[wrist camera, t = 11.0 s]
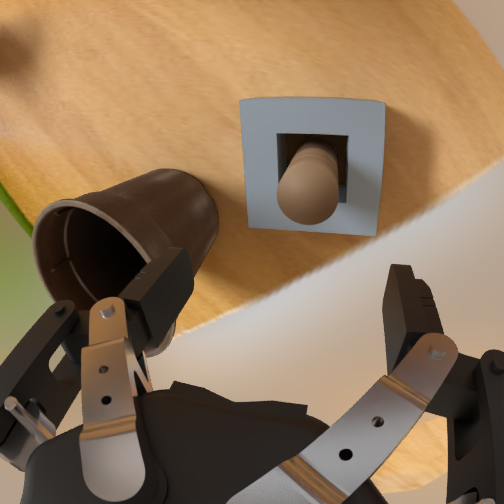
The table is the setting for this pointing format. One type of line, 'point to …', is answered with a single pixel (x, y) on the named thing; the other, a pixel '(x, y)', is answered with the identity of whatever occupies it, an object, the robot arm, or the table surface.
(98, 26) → the table surface
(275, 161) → the socket block
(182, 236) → the plant pot
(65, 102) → the table surface
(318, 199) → the dowel
